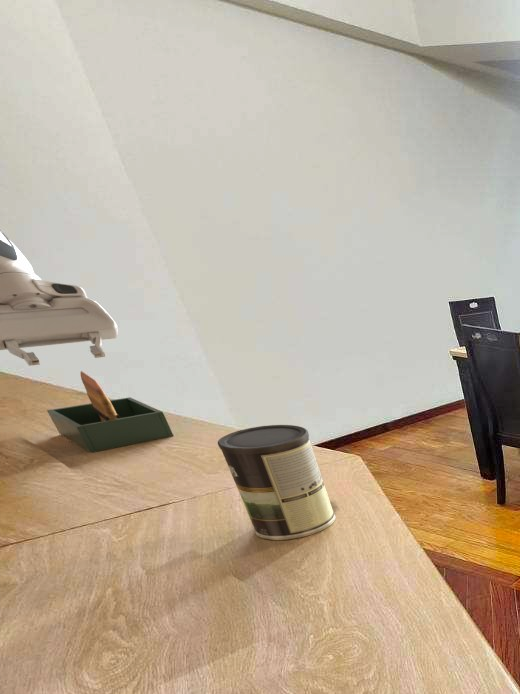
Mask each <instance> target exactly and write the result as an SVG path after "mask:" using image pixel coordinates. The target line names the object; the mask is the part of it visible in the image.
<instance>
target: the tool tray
mask: <svg viewBox="0 0 520 694" xmlns="http://www.w3.org/2000/svg"><path fill="white" fill-rule="evenodd" d="M109 400H110V402H111V403H112V405H113V407H114V409H115V411H116V413H117V414H118V415H119V417H120V418H119V419H114V420H108V421H102V422H100V421H99V419H98V417H97V415H96V413H95V411H94V409H93V407H92V406H93V405H92V403H91V402H90V403H84V404H78V405H71V406H67V407H66V406H65V407H60V408H53V409H47V410H46V412H47V414H48V415H49V417H50V419H51V421H52V422H53V425H54V426H55V428H56V430H57V432H58V433H59V435H60V434H61V435H60V436H62V437H63V436H64V437H63V438H65V437H66V438H65V439H67V440H68V439H69V441H70V440H71V441H70V442H72V443H73V442H74V443H73V444H75V443H76V444H75V445H76V446H78V445H79V446H78V447H80V446H81V447H80V448H82V449H83V448H84V449H83V450H85V451H87V452H88V451H89V452H88V453H90V452H92V453H96V452H95V451H97V452H101V450H102V451H107V450H111V449H115V447H116V448H120V446H121V447H125V446H124V445H126V446H130V445H129V444H131V445H135V444H134V443H136V444H140V443H139V442H141V443H145V442H144V441H146V442H150V440H151V441H154V440H153V439H156V440H160V439H159V438H161V439H165V438H164V437H166V438H169V437H168V436H170V437H174V434H173V431H172V428H171V426H170V425H169V422H168V420H167V418H166V416H165V413H164V411H162V410H160V409H158V408H156V407H154V406H153V407H152V406H151V405H148V404H146V403H144V402H142V401H139V400H138V399H135V398H133V397H130V396H128V397H123V398H117V399H109Z"/></svg>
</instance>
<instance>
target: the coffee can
mask: <svg viewBox="0 0 520 694" xmlns="http://www.w3.org/2000/svg"><path fill="white" fill-rule="evenodd" d="M217 445H218V448H219V449H220V450H221V452H222V455H223V457H224V460H225V462H226V464H227V467H228V469H229V472H230V474H231V476H232V479H233V481H234V483H235V486H236V488H237V491H238V493H239V495H240V498H241V500H242V502H243V504H244V505H243V506H244V508H245V510H246V512H247V514H248V517H249V519H250V522H251V524H252V527H253V529H254V533H255V535H256V536H257V537H258V538H260V539H263V540H269V541H289V540H294V539H299V538H301V539H302V538H304V537H309V536H312V535H314V534H317V533H320V532H322V531H324V530H326V529H327V528H329V527H330V526H332V525H333V524H334V522H335V521H336V518H337V517H336V514H335V513H334V510H333V506H332V504H331V501H330V497H329V494H328V492H327V489H326V486H325V483H324V480H323V477H322V473H321V471H320V467H319V464H318V463H317V462H318V461H317V459H316V456H315V455H316V454H315V452H314V449H313V447H312V443H311V441H310V434H309V430H308V429H306V428H305V427H304V426H303V427H302V426H299V425H293V424H271V425H270V424H269V425H261V426H254V427H249V428H244V429H240V430H237V431H236V430H235V431H233V432H231V433H228V434H225V435H224V436H222V437H220V438H219V439H218V440H217Z"/></svg>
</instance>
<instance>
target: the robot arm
mask: <svg viewBox="0 0 520 694" xmlns="http://www.w3.org/2000/svg"><path fill="white" fill-rule="evenodd" d="M87 295H88V294H87V293H86V291H85V289H83V287H81V286H79V285H75V284H67V283H60V282H54V281H49V280H44V279H42V278H40V276H38V275H37V274H36V273H35V271H34V268H33V266H32V264H31V263H30V261H29V260H28V259H27V257H26V256H25V255H24V254H23V253H22V252H21V251H20V249H19V248H18V246H16V245H15V243H13V242H12V240H10V239H9V237H8V236H7V235H6V234H5V232H3V231H2V230H1V229H0V351H5V350H7V351H8V352H9V354H12V355H14V356H15V357H17V358H20V359H22V360H24V361H25V363H26V364H27V365H28V366H29V367H30V366H39V365H41V363H40V359H39V358H38V357H37V355H36V354H35V352H34V351H30V352H28V351H25V350H24V349H26V348H35V347H45V346H54V345H55V346H56V345H63V344H64V345H65V344H74V343H83V342H91V344H93V345H89V352H90V353H91V355H93V357H94V358H95V359H99V358H106V353H105V351H104V349H103V348H102V346H103V340H113V339H116V338H117V337H118V335H119V327H118V325H117V323H116V321H115V319H113V318H112V316H111V315H110V314H109V313H108V312H107V310H105V308H103V306H101V304H100V303H98V302H97V301H95V300H93V299H91V298H89V297H88V296H87Z"/></svg>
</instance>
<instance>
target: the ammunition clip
mask: <svg viewBox="0 0 520 694" xmlns="http://www.w3.org/2000/svg"><path fill="white" fill-rule="evenodd" d="M80 379H81V381H82V385H83V387H84V389H85V391H86V395H87V397H88V399H89V401H90V403H92V405H93V406H92V407H93V409H94V411H95V413H96V415H97V417H98V419H99V421H100V422H102V421H108V420H114V419H119V418H120V417H119V415H118V414H117V413H116V411H115V409H114V407H113V405H112V403H111V402H110V400H111V399H109V398H108V396H107V394H106V393H105V391H104V389H103V388H102V386H101V385H100V383H98V381H97V380H96V379H95V378H93V377H91V376H90V375H88V374H86V373H85V372H84V371H82V370H80Z"/></svg>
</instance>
